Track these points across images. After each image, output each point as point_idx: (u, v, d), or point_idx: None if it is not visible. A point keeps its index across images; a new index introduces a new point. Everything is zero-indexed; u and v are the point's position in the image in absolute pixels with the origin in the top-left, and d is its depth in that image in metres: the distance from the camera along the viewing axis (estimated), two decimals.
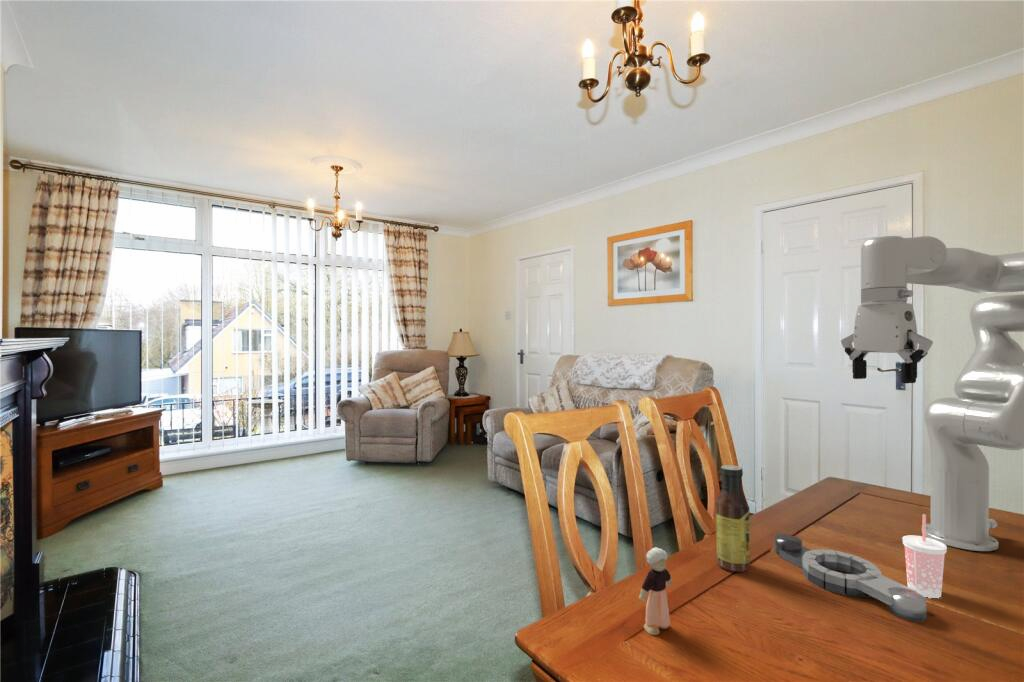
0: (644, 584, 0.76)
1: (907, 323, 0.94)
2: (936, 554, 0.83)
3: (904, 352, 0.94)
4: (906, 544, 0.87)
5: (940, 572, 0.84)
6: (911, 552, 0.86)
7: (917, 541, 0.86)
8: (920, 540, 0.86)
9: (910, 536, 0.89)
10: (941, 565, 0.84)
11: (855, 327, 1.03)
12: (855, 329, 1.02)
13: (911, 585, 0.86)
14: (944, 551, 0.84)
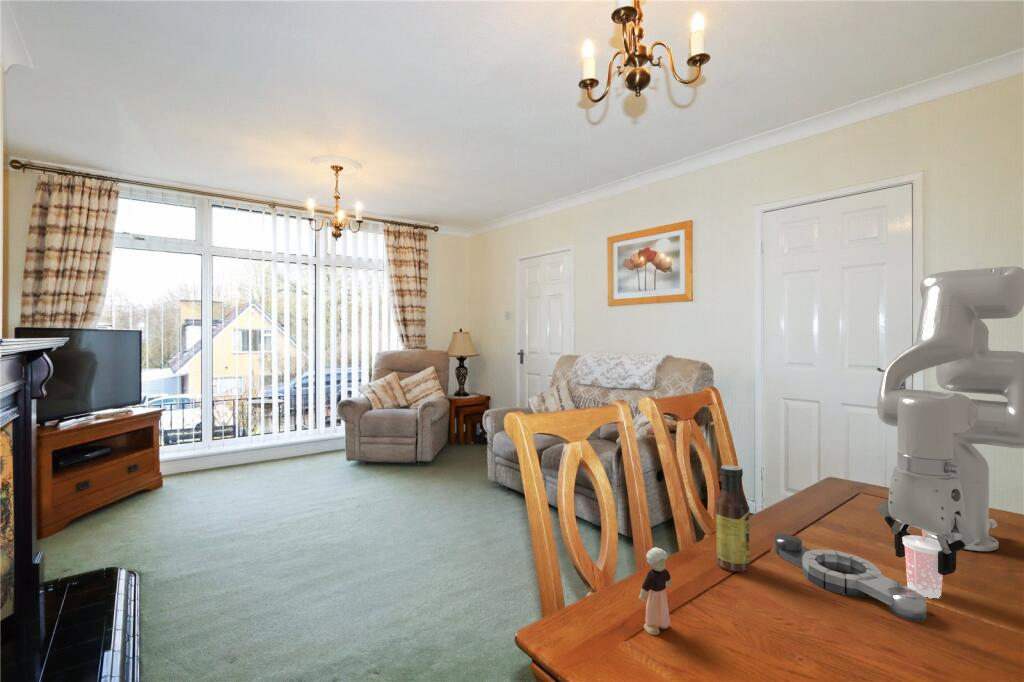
0: (644, 584, 0.76)
1: (954, 504, 0.81)
2: (936, 554, 0.83)
3: (944, 540, 0.82)
4: (906, 544, 0.87)
5: None
6: (911, 552, 0.86)
7: (917, 541, 0.86)
8: (920, 540, 0.86)
9: (910, 536, 0.89)
10: None
11: (890, 491, 0.90)
12: (890, 494, 0.90)
13: (911, 585, 0.86)
14: None
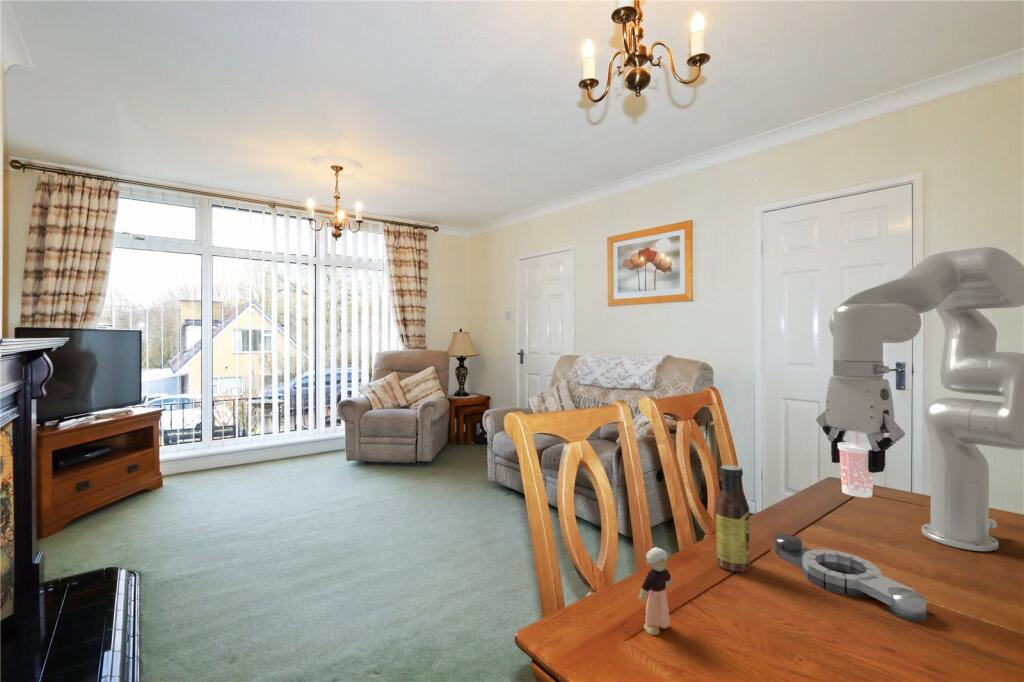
0: (644, 584, 0.76)
1: (883, 403, 0.84)
2: (867, 454, 0.87)
3: (874, 438, 0.85)
4: (840, 448, 0.90)
5: None
6: (844, 454, 0.89)
7: (850, 444, 0.90)
8: (853, 443, 0.90)
9: (845, 442, 0.92)
10: None
11: (827, 400, 0.93)
12: (827, 402, 0.93)
13: (844, 487, 0.89)
14: None
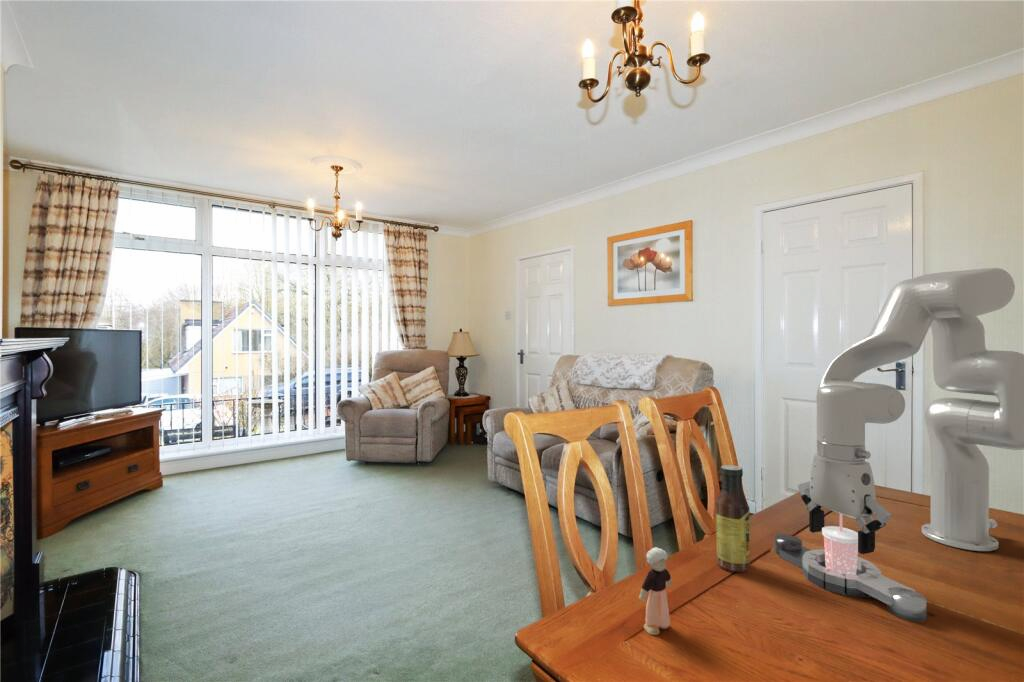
0: (644, 584, 0.76)
1: (864, 487, 0.86)
2: (850, 543, 0.88)
3: (861, 520, 0.86)
4: (824, 534, 0.91)
5: (854, 560, 0.88)
6: (828, 541, 0.90)
7: (834, 531, 0.91)
8: (837, 530, 0.91)
9: (830, 527, 0.93)
10: (855, 554, 0.88)
11: (811, 477, 0.94)
12: (811, 480, 0.94)
13: None
14: (857, 540, 0.88)
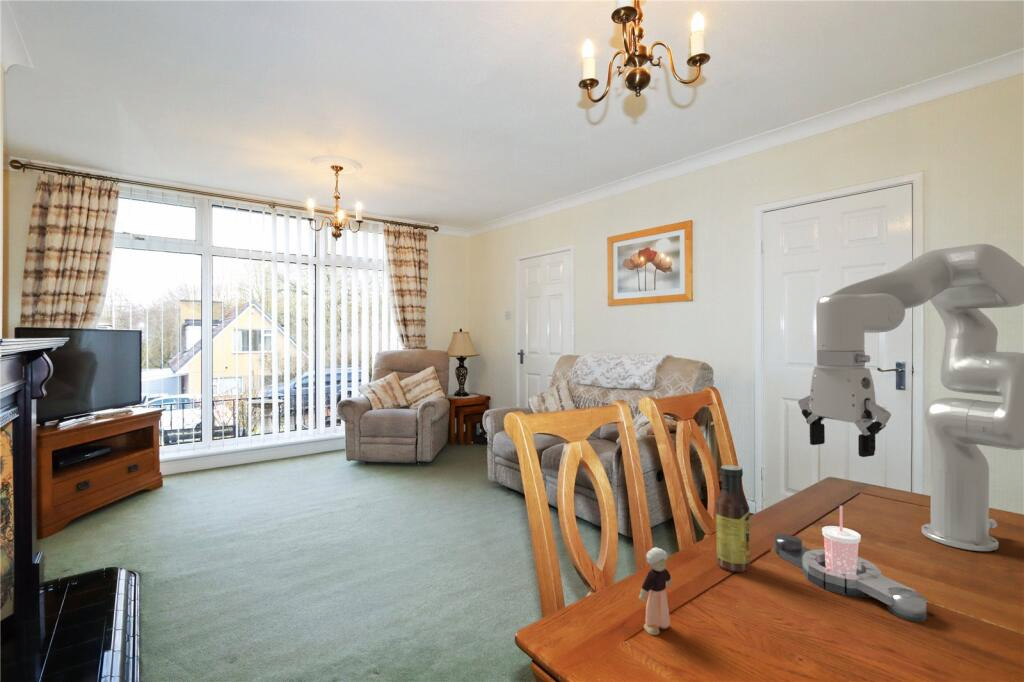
0: (644, 584, 0.76)
1: (864, 391, 0.86)
2: (850, 543, 0.88)
3: (861, 423, 0.86)
4: (824, 534, 0.91)
5: (854, 560, 0.88)
6: (828, 541, 0.90)
7: (834, 531, 0.91)
8: (837, 530, 0.91)
9: (830, 527, 0.93)
10: (855, 554, 0.88)
11: (811, 389, 0.95)
12: (811, 392, 0.95)
13: None
14: (857, 540, 0.88)
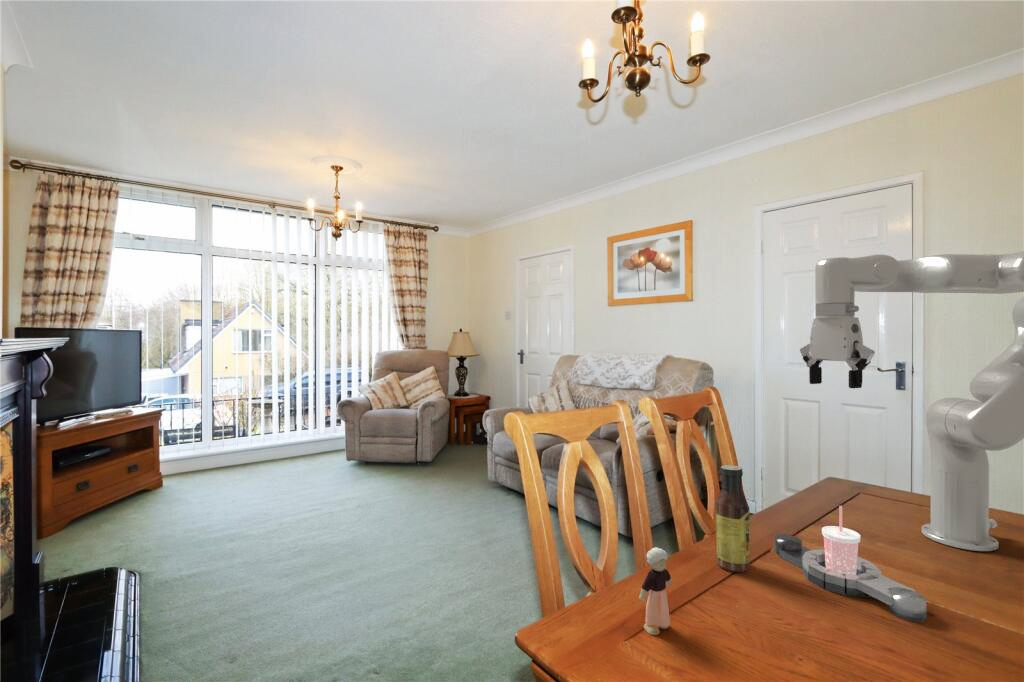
0: (644, 584, 0.76)
1: (853, 335, 1.06)
2: (849, 543, 0.88)
3: (851, 361, 1.06)
4: (824, 534, 0.91)
5: (854, 560, 0.88)
6: (828, 541, 0.90)
7: (834, 531, 0.91)
8: (837, 530, 0.91)
9: (830, 527, 0.93)
10: (855, 554, 0.88)
11: (811, 337, 1.15)
12: (811, 339, 1.15)
13: None
14: (857, 540, 0.88)
